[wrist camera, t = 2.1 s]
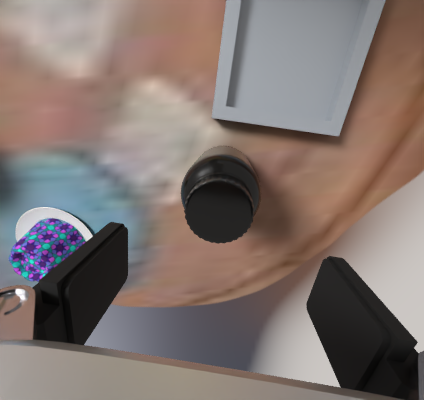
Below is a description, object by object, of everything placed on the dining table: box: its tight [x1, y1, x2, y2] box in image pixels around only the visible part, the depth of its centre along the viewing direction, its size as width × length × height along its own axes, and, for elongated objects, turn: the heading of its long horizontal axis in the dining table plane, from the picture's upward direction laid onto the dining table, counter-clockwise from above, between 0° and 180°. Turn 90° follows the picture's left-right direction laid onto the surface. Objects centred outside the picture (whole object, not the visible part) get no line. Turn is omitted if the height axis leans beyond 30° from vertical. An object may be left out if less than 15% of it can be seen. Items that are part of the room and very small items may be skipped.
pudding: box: [9, 207, 93, 282], centre depth 28 cm, size 12×12×5 cm
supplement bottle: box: [181, 146, 261, 243], centre depth 19 cm, size 7×7×12 cm
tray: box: [212, 0, 386, 136], centre depth 20 cm, size 13×13×2 cm
